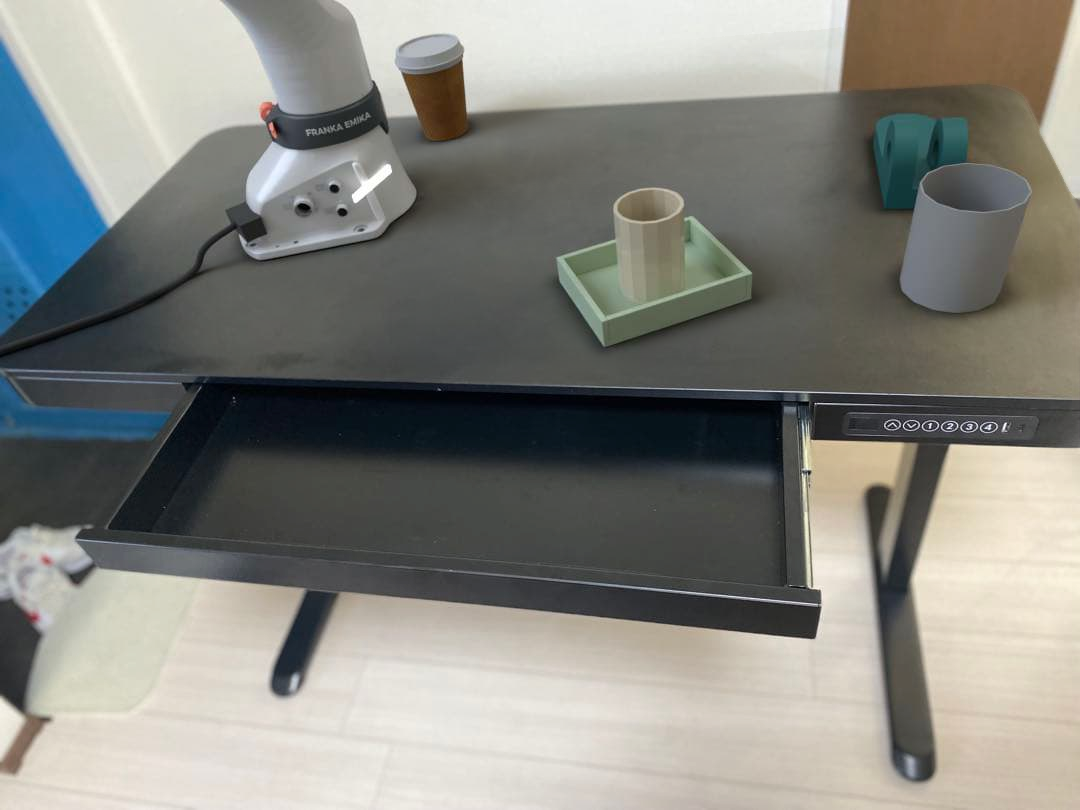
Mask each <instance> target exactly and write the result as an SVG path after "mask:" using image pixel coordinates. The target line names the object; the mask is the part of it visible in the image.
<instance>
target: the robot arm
mask: <svg viewBox="0 0 1080 810" xmlns="http://www.w3.org/2000/svg"><path fill="white" fill-rule="evenodd" d="M219 1H220V2H221V4H223V5H224V6H225V7H226V8H227V9H228V10H229V11H230V12H231V13H232V14H233V15H234V17H235V18H236V19H237V20H238V22H239V23H240V24H241V26H242V27H243V28H244V30H245V32H246V33H247V35H248V36H249V38H250V40H251V42H252V44H253V46H254V48H255V50H256V52H257V55H258V57H259V59H260V62H261V64H262V67H263V70H264V72H265V74H266V76H267V79H268V82H269V84H270V87H271V89H272V92H273V94H274V98H275V100H276V104H275V103H273V102H271V101H263V102H262V103H261V104H260V105H259V106H260V107H259V108H258V109H259V115H260V118H261V120H262V121H263V122H264V123H265V125H266V128H267V131H268V134H269V136H270V139H271V140H272V142H270V144H269V146H268V147H267V148H266V150H265V151H264V153H263V154H262V155H261V156H260V158H259V159H258V161H257V162H256V163H255V165H254V166H253V167H252V168H251V170H250V172H249V174H248V175H247V179H246V183H245V200H246V201H244V202H241V203H239V204H236V205H234V206H231V207H229V208H227V209H224V211H225V214H226V216H227V218H228V220H229V222H230V224H228V225H227V226H226V227H224V228H222V229H221V230H219V231H218V232H217V233H215V234H213V235H212V236H210V238H207V240H206V241H205V242H204V243H203V244H202V246H200V248H199V250H198V251H197V254H196V258H195V262H194V264H193V266H192V267H190V269H189V270H188V271H186V272H185V273H184V274H183V275H182V276H180V277H179V278H177V279H176V280H174V281H172V282H171V283H169V284H167V285H165V286H162V287H160V288H158V289H155V290H153V291H150V292H147V293H144V294H143V295H140V296H138V297H135V298H133V299H130V300H129V301H126V302H124V303H122V304H119V305H117V306H114V307H112V308H108V309H106V310H103V311H100V312H98V313H94V314H92V315H88V316H85V317H82V318H79V319H76V320H74V321H71V322H68V323H64V324H62V325H59V326H56V327H53V328H50V329H48V330H47V329H46V330H44V331H42V332H38V333H36V334H32V335H30V336H29V335H28V336H27V337H23V338H20V339H18V340H14V341H11V342H8V343H5V344H3V345H0V355H1V354H3V353H6V352H11V351H13V350H16V349H18V348H22V347H25V346H29V345H31V344H35V343H36V342H37V343H38V342H40V341H42V340H45V339H48V338H51V337H54V336H58V335H60V334H64V333H65V332H69V331H72V330H74V329H75V330H76V329H77V328H81V327H82V326H86V325H89V324H92V323H95V322H99V321H101V320H104V319H108V318H110V317H113V316H115V315H118V314H120V313H123V312H126V311H128V310H130V309H132V308H135V307H137V306H140V305H142V304H144V303H146V302H148V301H151V300H153V299H156V298H158V297H161V296H163V295H165V294H167V293H169V292H171V291H173V290H174V289H176V288H178V287H179V286H181V285H182V284H184V283H186V282H188V281H189V280H190V279H192V278H193V277H195V275H196V274H197V273H198V272H199V271H200V269H201V267H202V265H203V263H204V258H205V255H206V254H207V251H209V249H210V248H211V247H212V246H213V245H215V244H216V243H217V242H218V241H220V240H221V239H223V238H225V237H226V236H228V235H229V234H231V233H232V232H233V231H236V232H237V233H238V236H239V241H240V243H241V246H242V248H243V250H244V251H245V253H246V254H247V255H248V256H249V257H251V258H252V259H255V260H257V261H265V260H271V259H274V258H280V257H286V256H291V255H296V254H301V253H302V254H303V253H307V252H312V251H317V250H322V249H327V248H332V247H338V246H343V245H348V244H352V243H353V244H354V243H359V242H363V241H364V242H365V241H370V240H374V239H377V238H378V237H381V235H383V233H385V231H386V230H387V229H388V227H389V225H390V224H391V223H393V222H394V221H396V219H398V218H399V217H401V216H402V215H404V214H405V213H407V211H408V210H409V209H410V208H411V207H412V206H413V204H414V203H415V201H416V199H417V194H418V193H417V189H416V186H415V185H414V182H412V180H411V179H410V177H409V175H408V173H407V171H406V170H405V168H404V166H403V164H402V162H401V160H400V158H399V155H398V152H397V151H396V148H395V146H394V143H393V140H392V138H391V136H390V126H389V123H390V122H389V118H388V115H387V110H386V107H385V103H384V99H383V96H382V93H381V90H379V87H378V85H377V82H376V81H375V80H373V78H372V75H371V71H370V66H369V64H368V60H367V56H366V53H365V50H364V46H363V43H362V39H361V36H360V32H359V28H358V24H357V21H356V18H355V17H354V15H353V14H352V12H351V11H350V9H349V8H347V6H345V5H344V4H342V3H340V2H339V1H337V0H219Z"/></svg>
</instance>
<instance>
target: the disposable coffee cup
mask: <svg viewBox="0 0 1080 810" xmlns="http://www.w3.org/2000/svg"><path fill="white" fill-rule="evenodd" d="M464 53H465V47H464V45H463V44H461V41H460V39H459V37H458V36H456V35H455V34H451V33H432V34H431V33H430V34H426V35H420V36H417V37H414V38H410V39H409V40H405V42H402V43H401V44H399V45H398V46H397V47H396V48H395V58H394V64H395V66H396V67H397V69H398V70H399V71H400V73H401V76H402V78H403V81H404V84H405V86H406V89H407V92H408V95H409V98H410V100H411V103H412V105H413V108H414V110H415V112H416V116H417V118H418V121H419V123H420V126H421V129H422V131H423V134H424V137H425V138H426V139H428V140H429V141H433V142H435V141H436V142H445V141H450V140H453V139H456V138H458V137H460V136H462V135H464V134H465V133H466V132H467V131H468V128H469V125H468V112H467V99H466V98H467V97H466V86H465V75H464V61H463V58H464Z"/></svg>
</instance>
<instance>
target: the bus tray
mask: <svg viewBox="0 0 1080 810" xmlns="http://www.w3.org/2000/svg"><path fill="white" fill-rule="evenodd" d="M684 221H685V287H684V290H683V292H681V293H677V294H674V295H671V296H668V297H665V298H662V299H659V300H656V301H653V302H650V303H646V304H643V305H641V304H636V303H633V302H631V301H629V300H627V299H626V298H625V297H624V296H623V295H622V294H621V291H620V286H619V274H618V261H617V249H616V238H615V239H611V240H609V241H605V242H601V243H599V244H595V245H592V246H587V247H586V248H585V247H584V248H582V249H579V250H575V251H572V252H569V253H566V254H563V255H559V256H557V257H555V258H556V265H557V273H558V279H559V283H560V285H561V286H562V287H563V288H564V290H565V292H566V293H567V294H568V296H569V297H570V299H571V301H572V302H573V303H574V305H575V307H576V308H577V309H578V311H579V312H580V314H581V315H582V317H583V318H584V320H585V321H586V322H587V324H588V325H589V327H590V329H591V330H592V332H593V333H594V334H595V336H596V338H598V340H599V342H600V343H601V345H602V346H603V347H604V348H607V347H610V346H613V345H616V344H619V343H623V342H625V341H629V340H631V339H635V338H637V337H641V336H644V335H647V334H649V333H653V332H655V331H658V330H662V329H664V328H667V327H670V326H673V325H677V324H680V323H682V322H686V321H689V320H691V319H695V318H698V317H701V316H704V315H708V314H710V313H713V312H717V311H720V310H723V309H726V308H729V307H732V306H734V305H737V304H741V303H743V302H746V301H750V300H752V288H753V272H752V271H751V270H749V268H748V267H747V266H746V265H744V263H743V262H741V261H740V260H739V259H738V258H737V257H736V256H735V255H734V254H733V253H732V252H731V251H730V250H729V249H728V248H727V247H726V246H725V245H724V244H722V243H721V241H719V240H718V239H717V238H716V237H715V236H714V235H713V234H712V233H711V232H710V231H709V230H708V229H707V228H705V226H704V225H703V224H701V222H699V220H698V219H696V217H694V216H693V215H690V216H686V217H684Z"/></svg>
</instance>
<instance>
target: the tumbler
mask: <svg viewBox="0 0 1080 810" xmlns="http://www.w3.org/2000/svg"><path fill="white" fill-rule="evenodd" d="M612 207H613V223H614V235H615V237H614V238H615V239H616V249H617V261H618V274H619V286H620V291H621V294H622V295H623V296H624V297H625V298H626V299H627V300H629V301H631V302H633V303H636V304H641V305H643V304H646V303H650V302H653V301H656V300H659V299H662V298H665V297H668V296H671V295H674V294H677V293H681V292H683V290H684V287H685V221H684V218H685V201H684V197H682V196H681V195H680V194H679V192H676V191H673V190H671V189H668V188H662V187H643V188H638V189H634V190H632V191H628V192H625V194H623V195H621V196H619V197H618V198H617V199H616V201H615V202H614V203H613V206H612Z"/></svg>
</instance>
